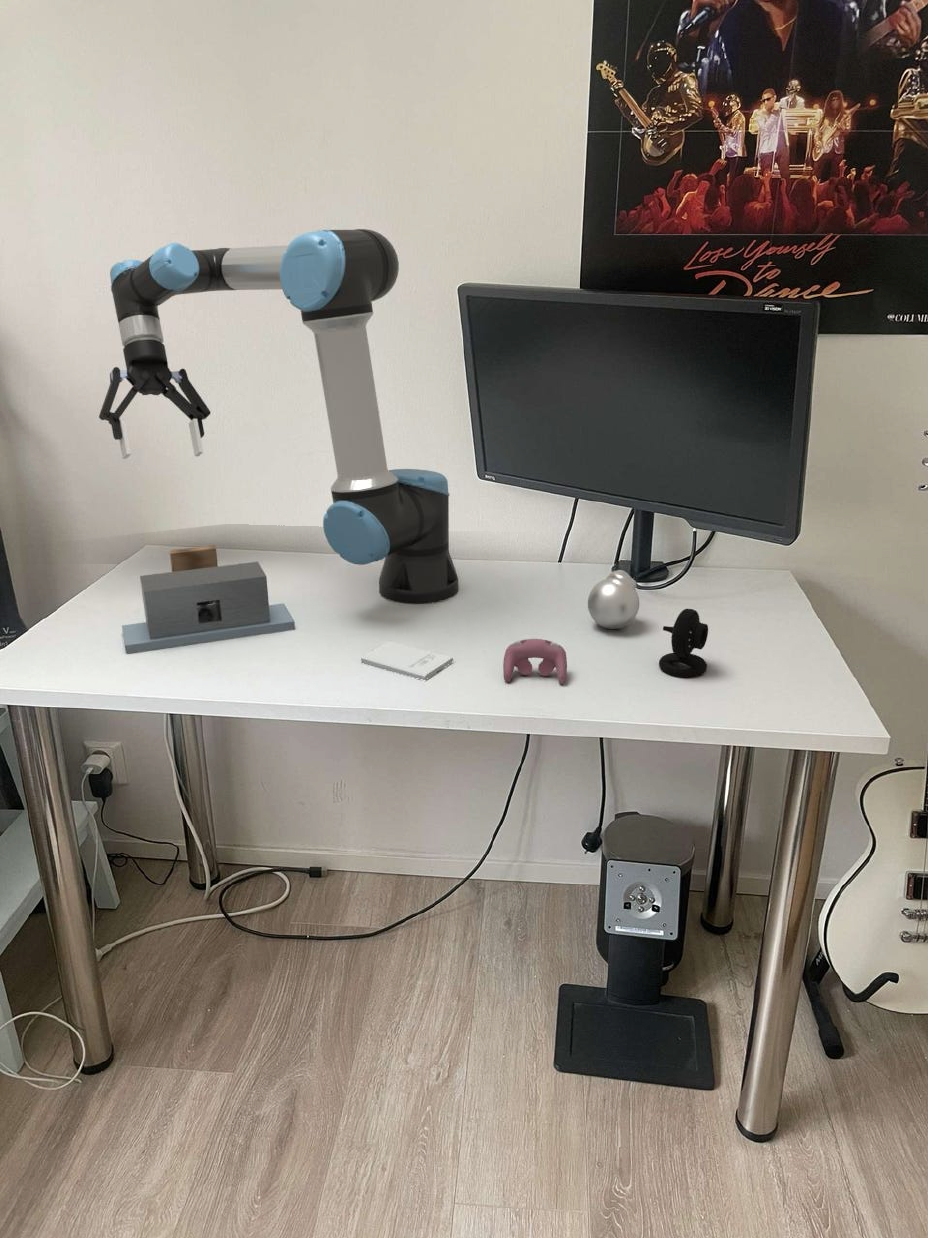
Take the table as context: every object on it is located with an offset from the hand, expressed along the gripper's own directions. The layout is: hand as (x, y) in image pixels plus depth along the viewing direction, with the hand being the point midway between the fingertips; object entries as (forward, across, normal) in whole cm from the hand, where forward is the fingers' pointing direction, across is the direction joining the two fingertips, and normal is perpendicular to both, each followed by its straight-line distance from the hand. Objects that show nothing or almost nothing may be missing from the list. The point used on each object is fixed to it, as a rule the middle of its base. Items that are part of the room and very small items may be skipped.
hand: (163, 455), depth 187 cm
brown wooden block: (+30, -1, +2) cm, 30 cm away
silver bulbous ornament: (+48, -56, +48) cm, 88 cm away
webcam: (+58, -53, +64) cm, 101 cm away
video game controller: (+54, -33, +53) cm, 83 cm away
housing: (+35, +2, +10) cm, 36 cm away
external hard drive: (+48, -20, +38) cm, 65 cm away
